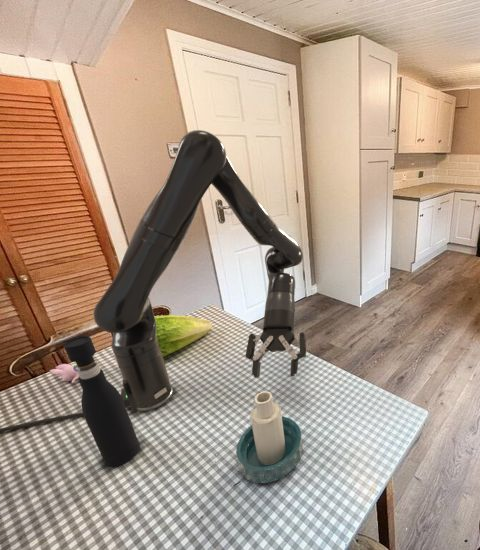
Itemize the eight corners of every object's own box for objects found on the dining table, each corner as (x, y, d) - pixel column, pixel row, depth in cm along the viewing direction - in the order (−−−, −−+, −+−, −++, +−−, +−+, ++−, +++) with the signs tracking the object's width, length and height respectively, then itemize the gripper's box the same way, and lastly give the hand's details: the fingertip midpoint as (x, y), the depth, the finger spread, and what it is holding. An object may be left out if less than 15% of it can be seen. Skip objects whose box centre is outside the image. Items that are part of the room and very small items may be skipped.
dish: (248, 499, 60) (245, 484, 58) (233, 447, 70) (230, 433, 68) (312, 463, 67) (310, 448, 65) (289, 421, 77) (288, 407, 75)
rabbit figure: (108, 378, 93) (65, 366, 95) (104, 363, 91) (61, 351, 92) (87, 393, 87) (42, 380, 89) (83, 377, 85) (37, 364, 87)
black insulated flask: (121, 470, 65) (72, 353, 54) (96, 464, 66) (44, 349, 55) (146, 444, 71) (107, 334, 60) (124, 439, 72) (81, 330, 61)
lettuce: (227, 322, 111) (206, 296, 115) (157, 344, 91) (136, 310, 95) (215, 346, 117) (196, 320, 121) (148, 371, 97) (128, 339, 102)
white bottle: (262, 470, 64) (252, 413, 58) (254, 449, 69) (244, 394, 63) (289, 456, 67) (282, 400, 61) (280, 436, 72) (273, 383, 66)
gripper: (247, 308, 75) (239, 376, 69) (305, 307, 76) (302, 374, 70) (256, 316, 82) (249, 379, 76) (308, 315, 83) (306, 377, 77)
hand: (274, 376), depth 73 cm, fingers open, 8 cm apart
